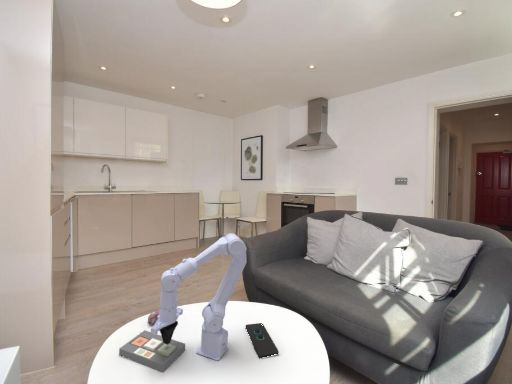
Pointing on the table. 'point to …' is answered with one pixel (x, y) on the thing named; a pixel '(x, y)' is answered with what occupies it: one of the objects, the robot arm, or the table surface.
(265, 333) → the smart home device
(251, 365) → the table surface
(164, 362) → the keypad
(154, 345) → the white key
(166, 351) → the sage key
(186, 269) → the robot arm
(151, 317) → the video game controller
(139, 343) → the terracotta key
